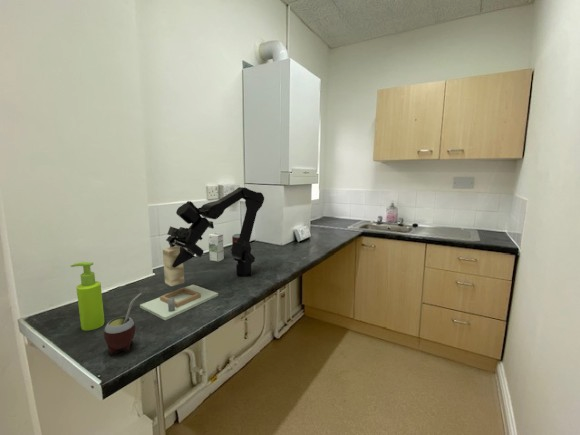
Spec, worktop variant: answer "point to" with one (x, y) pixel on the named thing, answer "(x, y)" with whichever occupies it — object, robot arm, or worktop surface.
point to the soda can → (235, 238)
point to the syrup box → (216, 247)
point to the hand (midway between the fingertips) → (169, 265)
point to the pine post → (172, 274)
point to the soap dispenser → (89, 299)
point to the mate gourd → (120, 332)
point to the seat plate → (178, 301)
